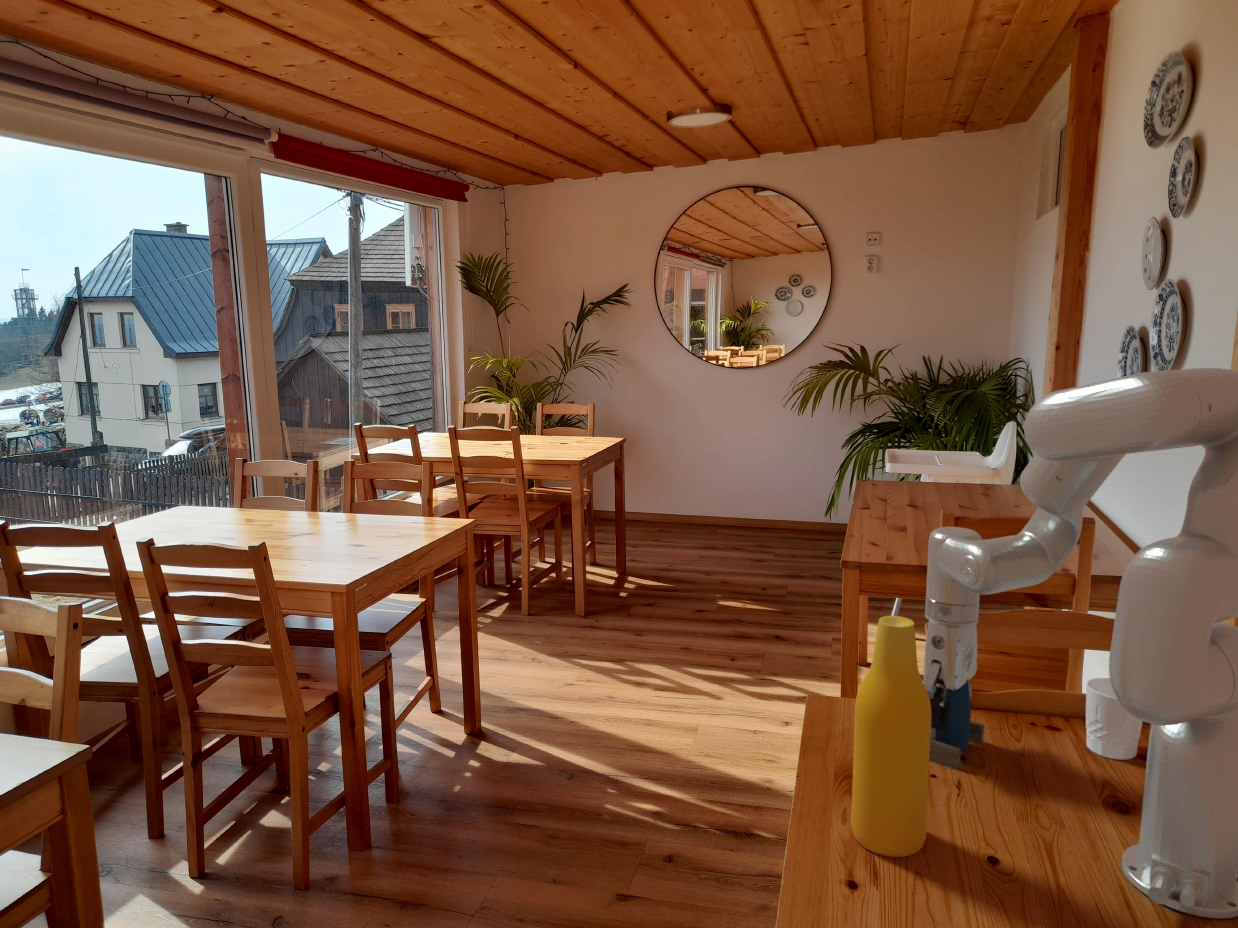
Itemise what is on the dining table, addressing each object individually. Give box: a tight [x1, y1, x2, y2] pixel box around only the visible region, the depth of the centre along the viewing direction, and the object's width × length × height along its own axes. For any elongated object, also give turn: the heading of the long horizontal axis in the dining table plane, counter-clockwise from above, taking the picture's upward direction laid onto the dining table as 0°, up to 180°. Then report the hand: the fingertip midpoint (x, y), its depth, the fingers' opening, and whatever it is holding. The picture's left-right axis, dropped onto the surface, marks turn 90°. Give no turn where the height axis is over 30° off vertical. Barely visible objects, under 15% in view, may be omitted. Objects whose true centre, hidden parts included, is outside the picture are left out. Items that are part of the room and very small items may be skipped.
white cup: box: [1085, 677, 1143, 761], centre depth 129 cm, size 8×8×10 cm
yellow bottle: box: [850, 615, 931, 858], centre depth 106 cm, size 9×9×29 cm
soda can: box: [923, 679, 973, 755], centre depth 130 cm, size 7×7×12 cm
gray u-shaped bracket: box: [929, 719, 985, 770], centre depth 131 cm, size 11×9×3 cm
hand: (946, 718), depth 130 cm, fingers open, 7 cm apart
